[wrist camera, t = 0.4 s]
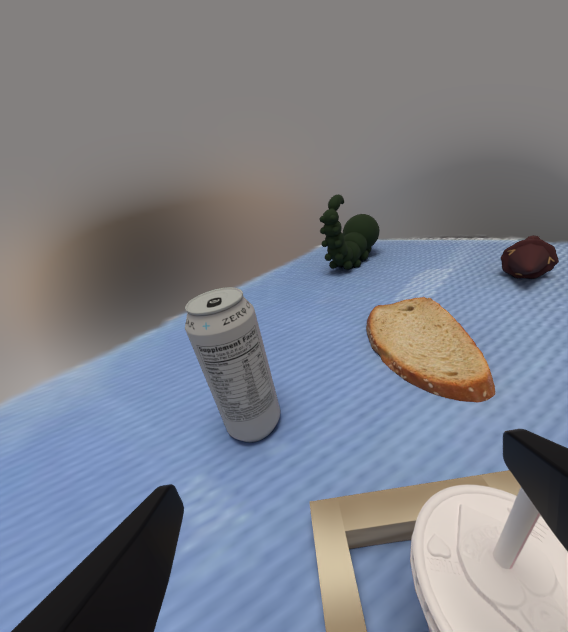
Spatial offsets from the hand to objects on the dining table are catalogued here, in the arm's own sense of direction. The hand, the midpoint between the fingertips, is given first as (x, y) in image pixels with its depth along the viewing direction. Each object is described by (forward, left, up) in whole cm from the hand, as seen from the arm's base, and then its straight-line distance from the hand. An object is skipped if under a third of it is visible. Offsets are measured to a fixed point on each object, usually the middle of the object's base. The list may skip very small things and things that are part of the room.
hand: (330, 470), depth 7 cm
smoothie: (-1, -6, -16) cm, 17 cm away
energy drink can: (+16, +6, -16) cm, 23 cm away
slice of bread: (+25, -17, -16) cm, 34 cm away
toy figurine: (+64, -18, -16) cm, 68 cm away
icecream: (+38, -42, -16) cm, 59 cm away
